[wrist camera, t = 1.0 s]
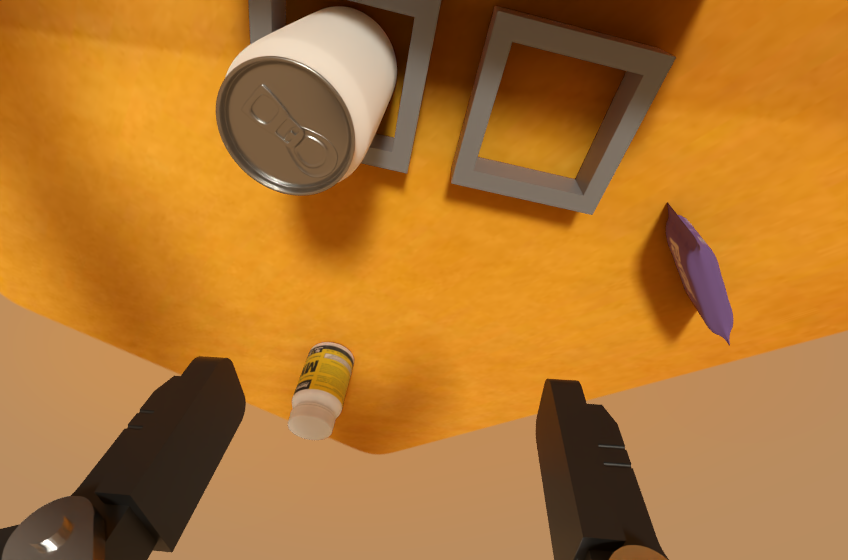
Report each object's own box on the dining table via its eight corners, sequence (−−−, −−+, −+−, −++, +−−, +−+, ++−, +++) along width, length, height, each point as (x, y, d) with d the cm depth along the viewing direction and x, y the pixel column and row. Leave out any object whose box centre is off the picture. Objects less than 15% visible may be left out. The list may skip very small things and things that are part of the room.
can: (351, 138, 29) (300, 229, 20) (274, 60, 26) (174, 124, 17) (419, 71, 26) (398, 142, 17) (342, -24, 24) (265, -2, 14)
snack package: (652, 207, 31) (680, 245, 27) (680, 195, 30) (713, 232, 27) (689, 307, 37) (716, 350, 33) (713, 299, 36) (744, 342, 32)
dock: (254, 123, 29) (188, 180, 22) (239, -179, 20) (121, -245, 13) (596, 200, 31) (637, 275, 24) (724, -42, 22) (848, -35, 15)
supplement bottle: (320, 333, 42) (294, 406, 35) (362, 352, 43) (345, 425, 37) (302, 359, 45) (275, 431, 38) (343, 376, 46) (323, 448, 39)
